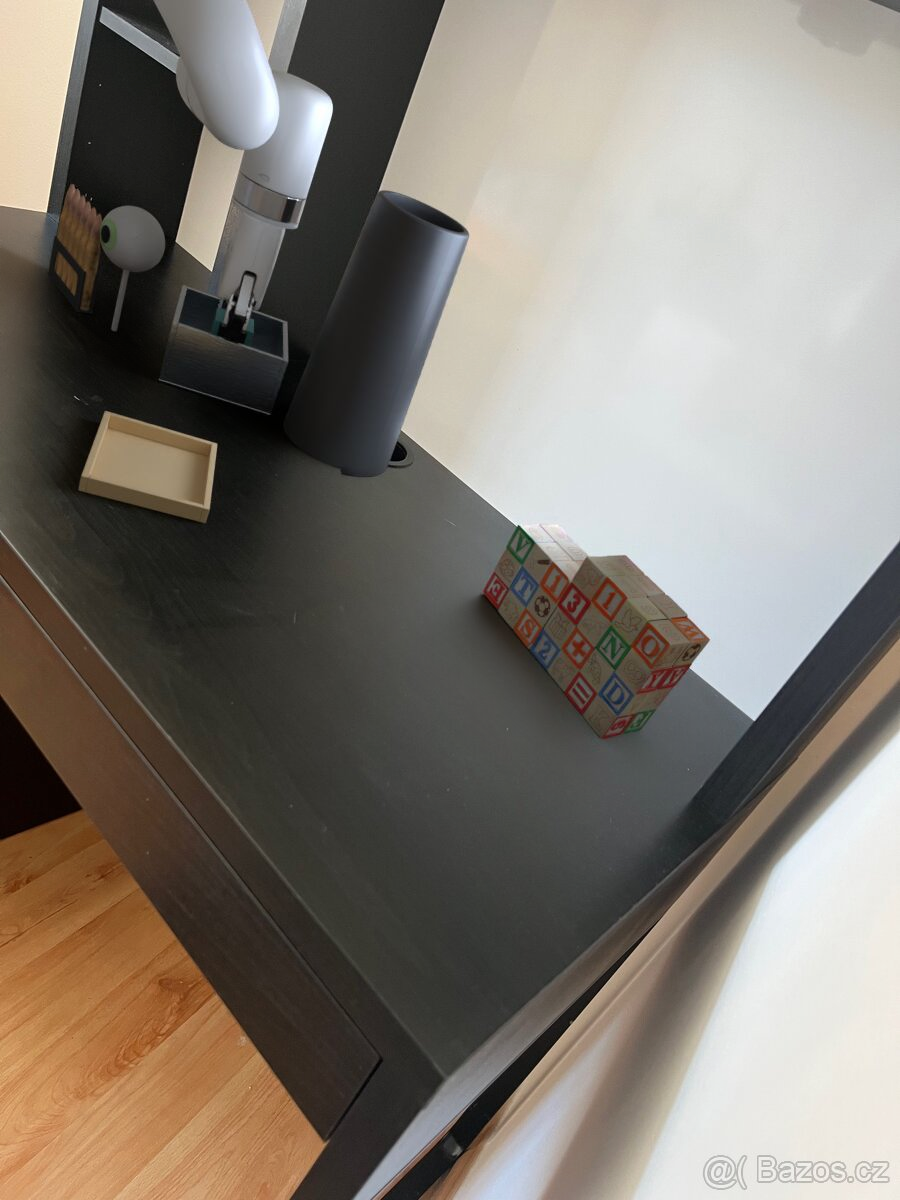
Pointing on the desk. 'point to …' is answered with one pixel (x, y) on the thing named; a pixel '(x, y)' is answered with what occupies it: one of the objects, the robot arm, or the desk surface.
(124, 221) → the lollipop
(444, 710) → the desk surface
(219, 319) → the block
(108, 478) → the shallow wooden tray
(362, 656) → the desk surface
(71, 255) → the ammunition clip
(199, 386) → the dark open-top crate
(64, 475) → the desk surface
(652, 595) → the stack of blocks
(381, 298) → the vase
